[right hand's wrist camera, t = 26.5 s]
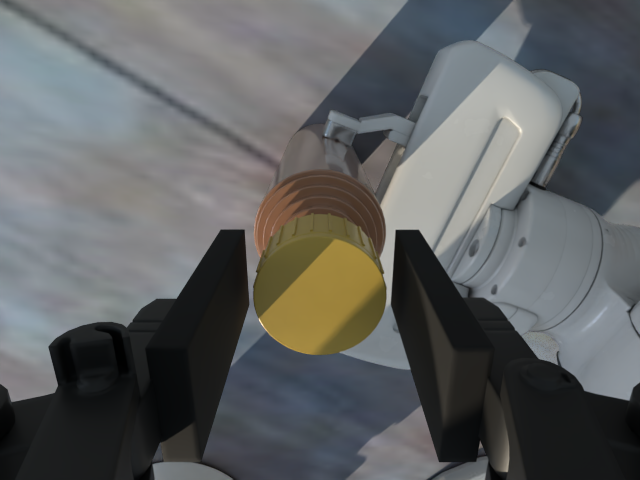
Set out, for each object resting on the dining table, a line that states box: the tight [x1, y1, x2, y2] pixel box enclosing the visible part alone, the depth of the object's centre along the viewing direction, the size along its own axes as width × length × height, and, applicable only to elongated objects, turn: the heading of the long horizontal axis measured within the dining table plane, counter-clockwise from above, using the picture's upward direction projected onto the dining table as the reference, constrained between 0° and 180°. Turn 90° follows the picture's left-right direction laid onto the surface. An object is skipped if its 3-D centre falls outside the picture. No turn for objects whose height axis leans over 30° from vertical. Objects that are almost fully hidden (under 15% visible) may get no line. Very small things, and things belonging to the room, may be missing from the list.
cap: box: [253, 213, 387, 355], centre depth 14 cm, size 4×4×2 cm
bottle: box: [254, 124, 386, 258], centre depth 23 cm, size 5×5×21 cm
